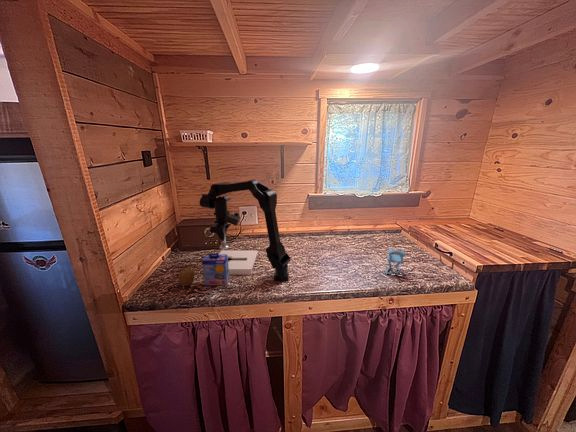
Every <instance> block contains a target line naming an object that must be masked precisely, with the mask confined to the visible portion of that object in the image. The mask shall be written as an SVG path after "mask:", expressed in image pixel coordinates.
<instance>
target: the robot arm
mask: <svg viewBox="0 0 576 432" xmlns="http://www.w3.org/2000/svg"><path fill="white" fill-rule="evenodd" d="M242 191H249V192H250V193H251V194H252V196H253V197H254V198H255V199H256V200H257V202H258V205H259V208H260V209H261V210H262V211H263V214H264V218H265V220H264V221H265V226H266V231H267V236H268V241H269V242H268V243H269V246H267V247H266V248H265V253H266V258H267V259H268V261H269V262H270V265H271V268H272V269H274V276H273V281H274V282H288V281H289V279H290V278H289V277H290V276H289V275H290V272H289V271H288V270H289V268H288V264H289V263H291V260H292V258H291V257H290V255H289V253H287V252H286V248H285V245H284V244H283V243H282V242H281V236H280V232H279V226H278V220H277V212H276V208H277V203H278V194H277V192H276V191H275V190H274V189H270V187H268V186H267V185H265V184H262V183H261V182H260V181H259V180H257V179H250V180H245V181H240V182H233V183H232V182H230V183H229V182H218V183H213V184H211V185H210V189H209V191H208V193H202V195H201V198H199V203H198V204H199V206H200V207H201V208H203V209H213V210H214V212H213V216H214V217H215V220H214V224H213V225H211V227H210V228H209V233H210V234H216V235H217V236H218V238H219V239H220V240H221V242H222V241H224V238H225V236H226V237H227V233H228V228H229V227H231V225H233V226H237V227H238V224H239V223H240V220H241V216H240V214H239V212H237V211H235V213H230V210H228V205H227V203H228V202H229V201H231V198H230V197H229V196H228V195H227V194H230V193H232V192H233V193H234V192H242Z"/></svg>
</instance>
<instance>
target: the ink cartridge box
mask: <svg viewBox="0 0 576 432" xmlns="http://www.w3.org/2000/svg"><path fill="white" fill-rule="evenodd" d="M218 254H219V253H209V254H205V255H204V257H202V260H201V265H202V271H203V272H202V273H203V281H204V286H219V285H220V286H226V285H228V284H229V282H230V274H229V266H228V262H229V258H228V255H227V254H220V255H218Z"/></svg>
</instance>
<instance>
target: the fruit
mask: <svg viewBox="0 0 576 432" xmlns="http://www.w3.org/2000/svg"><path fill="white" fill-rule="evenodd" d="M194 280H195V273H194V271H193V270H192V269H191V268H189V267H188V268H183V269H181V270H180V271H179V272H178V281H179V283H180V285H181V286H183V287H188V286H190V285H192V284H193V282H194Z"/></svg>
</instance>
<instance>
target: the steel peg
mask: <svg viewBox="0 0 576 432" xmlns="http://www.w3.org/2000/svg"><path fill="white" fill-rule="evenodd" d="M226 237H227V235H226V236H225V238H224V241H221V244H220V245H219V249H220V250H228V249H229V248H230V245H229V244H227V238H226Z"/></svg>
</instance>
